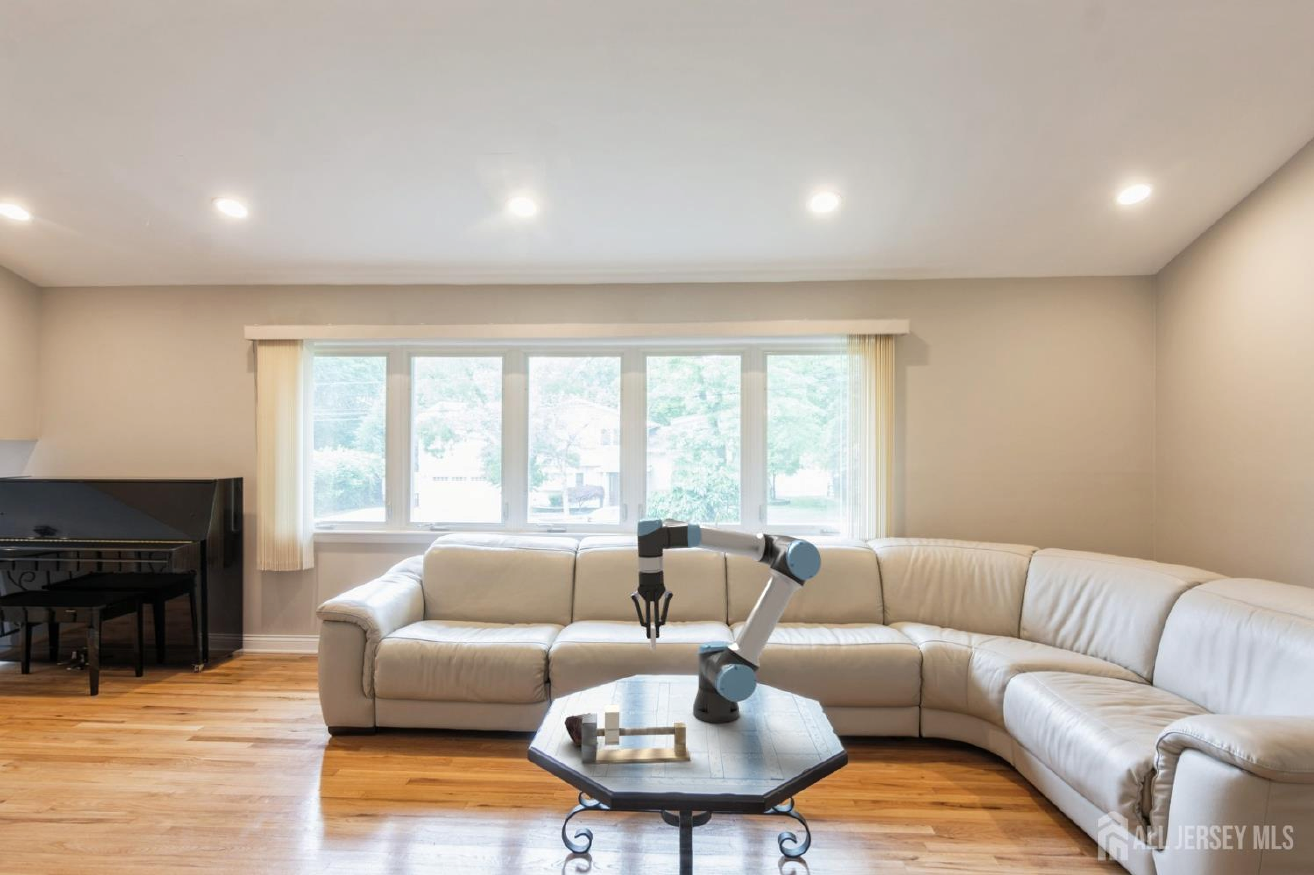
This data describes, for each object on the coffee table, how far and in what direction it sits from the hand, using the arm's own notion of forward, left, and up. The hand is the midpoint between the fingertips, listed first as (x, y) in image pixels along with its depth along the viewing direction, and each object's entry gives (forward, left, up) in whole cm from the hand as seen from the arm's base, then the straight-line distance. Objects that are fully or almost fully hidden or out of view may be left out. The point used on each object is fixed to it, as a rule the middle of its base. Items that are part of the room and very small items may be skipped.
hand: (653, 649), depth 186 cm
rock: (+21, +1, -27) cm, 34 cm away
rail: (+6, +10, -27) cm, 29 cm away
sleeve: (+12, +10, -22) cm, 27 cm away
